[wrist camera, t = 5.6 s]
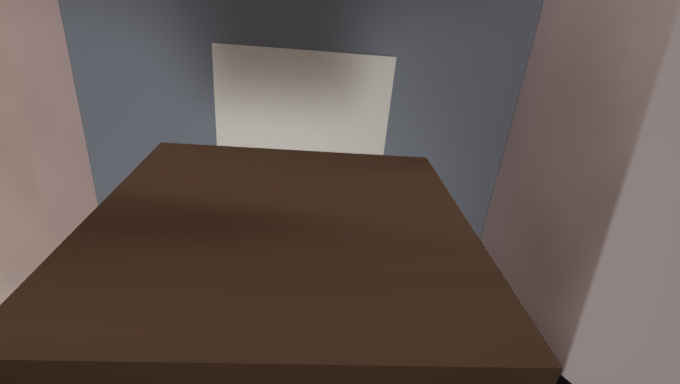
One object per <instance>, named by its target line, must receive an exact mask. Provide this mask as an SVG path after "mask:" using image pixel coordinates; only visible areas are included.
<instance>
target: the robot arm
mask: <svg viewBox="0 0 680 384" xmlns="http://www.w3.org/2000/svg"><path fill="white" fill-rule="evenodd" d="M556 384H571V383H570V382H569V381H568V380H567V379H565V378H564V377H563V376H562V375H560V376H559V378H558V380H557V383H556Z"/></svg>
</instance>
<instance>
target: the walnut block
mask: <svg viewBox="0 0 680 384" xmlns="http://www.w3.org/2000/svg"><path fill="white" fill-rule="evenodd" d="M562 369H563V368H562V367H561V365H560V363H559V362H558V360H557V359H556V357H555V356H554V354H553V353H552V351H551V350H550V348H549V346H548V345H547V343H546V342H545V340H544V339H543V337H542V336H541V334H540V332H539V331H538V329H537V328H536V326H535V325H534V323H533V322H532V320H531V319H530V317H529V315H528V314H527V312H526V311H525V309H524V308H523V306H522V305H521V303H520V301H519V300H518V298H517V297H516V295H515V294H514V292H513V291H512V289H511V288H510V286H509V284H508V283H507V281H506V280H505V278H504V277H503V275H502V274H501V272H500V270H499V269H498V267H497V266H496V264H495V263H494V261H493V260H492V258H491V257H490V255H489V253H488V252H487V250H486V249H485V247H484V246H483V244H482V243H481V241H480V240H479V238H478V236H477V235H476V233H475V232H474V230H473V229H472V227H471V226H470V224H469V222H468V221H467V219H466V218H465V216H464V215H463V213H462V212H461V210H460V209H459V207H458V205H457V204H456V202H455V201H454V199H453V198H452V196H451V195H450V193H449V191H448V190H447V188H446V187H445V185H444V184H443V182H442V181H441V179H440V178H439V176H438V174H437V173H436V171H435V170H434V168H433V167H432V165H431V164H430V162H429V160H428V159H427V158H425V157H408V156H390V155H373V154H355V153H338V152H321V151H303V150H286V149H268V148H251V147H233V146H216V145H198V144H181V143H163V142H161V143H160V144H159V145H158V146H157V147H156V148H155V149H154V150H153V151H152V152H151V153H150V154H149V155H148V156H147V157H146V158H145V159H144V160H143V161H142V162H141V163H140V164H139V165H138V166H137V167H136V168H135V169H134V170H133V171H132V172H131V173H130V174H129V175H128V176H127V177H126V178H125V179H124V180H123V181H122V182H121V183H120V184H119V185H118V186H117V187H116V188H115V189H114V190H113V191H112V192H111V193H110V195H109V196H108V197H107V198H106V199H105V200H104V201H103V202H102V203H101V204H100V205H99V206H98V207H97V208H96V209H95V210H94V211H93V212H92V213H91V214H90V215H89V216H88V217H87V218H86V219H85V220H84V221H83V222H82V223H81V224H80V225H79V226H78V227H77V228H76V229H75V230H74V231H73V232H72V233H71V234H70V235H69V236H68V237H67V238H66V239H65V240H64V241H63V242H62V243H61V244H60V245H59V246H58V247H57V248H56V249H55V250H54V251H53V252H52V253H51V254H50V255H49V256H48V257H47V258H46V259H45V260H44V261H43V262H42V264H41V265H40V266H39V267H38V268H37V269H36V270H35V271H34V272H33V273H32V274H31V275H30V276H29V277H28V278H27V279H26V280H25V281H24V282H23V283H22V284H21V285H20V286H19V287H18V288H17V289H16V290H15V291H14V292H13V293H12V294H11V295H10V296H9V297H8V298H7V299H6V300H5V301H4V302H3V303H2V304H1V305H0V384H556V383H557V380H558V378H559V376H560V373H561V371H562Z"/></svg>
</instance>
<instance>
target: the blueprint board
mask: <svg viewBox="0 0 680 384" xmlns="http://www.w3.org/2000/svg"><path fill="white" fill-rule="evenodd" d="M58 2H59V7H60V12H61V17H62V22H63V27H64V32H65V37H66V42H67V48H68V53H69V58H70V63H71V68H72V73H73V78H74V83H75V88H76V93H77V99H78V104H79V109H80V114H81V119H82V124H83V129H84V134H85V139H86V145H87V150H88V155H89V160H90V165H91V170H92V175H93V180H94V185H95V191H96V196H97V201H98V206H99V205H100V204H101V203H102V202H103V201H104V200H105V199H106V198H107V197H108V196H109V195H110V193H111V192H112V191H113V190H114V189H115V188H116V187H117V186H118V185H119V184H120V183H121V182H122V181H123V180H124V179H125V178H126V177H127V176H128V175H129V174H130V173H131V172H132V171H133V170H134V169H135V168H136V167H137V166H138V165H139V164H140V163H141V162H142V161H143V160H144V159H145V158H146V157H147V156H148V155H149V154H150V153H151V152H152V151H153V150H154V149H155V148H156V147H157V146H158V145H159V144H160V143H161V142H163V143H181V144H198V145H216V146H233V147H251V148H268V149H286V150H303V151H321V152H338V153H355V154H373V155H390V156H408V157H425V158H427V159H428V160H429V162H430V164H431V165H432V167H433V168H434V170H435V171H436V173H437V174H438V176H439V178H440V179H441V181H442V182H443V184H444V185H445V187H446V188H447V190H448V191H449V193H450V195H451V196H452V198H453V199H454V201H455V202H456V204H457V205H458V207H459V209H460V210H461V212H462V213H463V215H464V216H465V218H466V219H467V221H468V222H469V224H470V226H471V227H472V229H473V230H474V232H475V233H476V235H477V236H478V238H479V240H480V237H481V234H482V230H483V226H484V222H485V219H486V215H487V211H488V208H489V204H490V200H491V196H492V193H493V189H494V185H495V181H496V178H497V174H498V170H499V166H500V163H501V159H502V155H503V151H504V148H505V144H506V140H507V137H508V133H509V129H510V125H511V122H512V118H513V114H514V110H515V107H516V103H517V99H518V95H519V92H520V88H521V84H522V80H523V77H524V73H525V69H526V66H527V62H528V58H529V54H530V51H531V47H532V43H533V39H534V36H535V32H536V28H537V24H538V21H539V17H540V13H541V9H542V6H543V2H544V0H58Z"/></svg>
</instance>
